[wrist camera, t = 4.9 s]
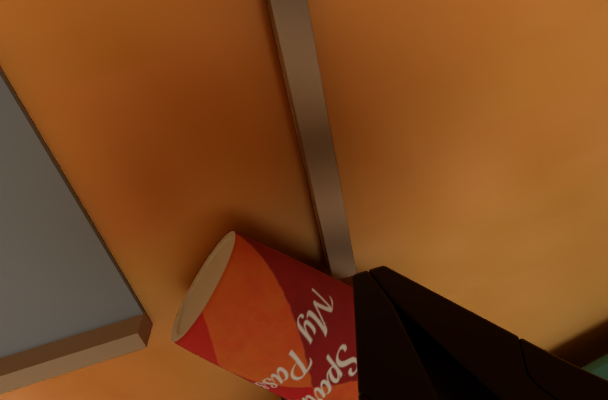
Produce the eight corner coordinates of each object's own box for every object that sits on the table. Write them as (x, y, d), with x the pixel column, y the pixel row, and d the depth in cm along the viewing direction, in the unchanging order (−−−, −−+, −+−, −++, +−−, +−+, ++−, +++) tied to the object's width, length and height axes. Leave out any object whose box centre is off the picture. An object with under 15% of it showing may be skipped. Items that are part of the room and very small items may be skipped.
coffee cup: (241, 278, 12) (500, 410, 17) (253, 188, 19) (429, 297, 24) (135, 411, 14) (387, 494, 19) (181, 286, 22) (355, 368, 27)
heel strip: (348, 260, 22) (356, 274, 21) (327, 266, 22) (333, 281, 21) (294, -25, 15) (301, -32, 13) (261, -18, 15) (264, -24, 13)
